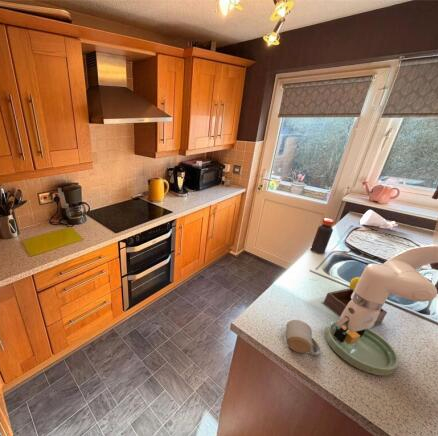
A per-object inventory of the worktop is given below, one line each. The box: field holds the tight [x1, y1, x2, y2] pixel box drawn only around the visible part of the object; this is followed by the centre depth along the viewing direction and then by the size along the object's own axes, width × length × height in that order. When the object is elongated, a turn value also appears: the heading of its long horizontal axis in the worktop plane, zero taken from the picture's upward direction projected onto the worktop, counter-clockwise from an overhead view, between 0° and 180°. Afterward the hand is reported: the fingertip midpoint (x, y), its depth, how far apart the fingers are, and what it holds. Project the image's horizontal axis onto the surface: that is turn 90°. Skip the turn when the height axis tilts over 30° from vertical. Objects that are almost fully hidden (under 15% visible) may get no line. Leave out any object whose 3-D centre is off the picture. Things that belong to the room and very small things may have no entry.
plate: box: [325, 319, 400, 376], centre depth 79 cm, size 18×18×4 cm
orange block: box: [342, 326, 360, 344], centre depth 82 cm, size 4×5×4 cm
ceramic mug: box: [285, 319, 321, 356], centre depth 79 cm, size 11×8×8 cm
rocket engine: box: [359, 209, 399, 232], centre depth 163 cm, size 12×12×18 cm
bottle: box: [310, 218, 335, 255], centre depth 132 cm, size 7×7×20 cm
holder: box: [323, 287, 388, 326], centre depth 93 cm, size 13×14×6 cm
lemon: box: [349, 276, 361, 290], centre depth 103 cm, size 6×6×8 cm
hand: (347, 336), depth 83 cm, fingers open, 7 cm apart
